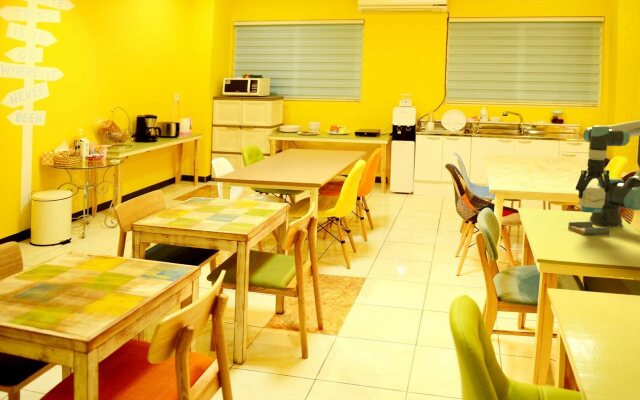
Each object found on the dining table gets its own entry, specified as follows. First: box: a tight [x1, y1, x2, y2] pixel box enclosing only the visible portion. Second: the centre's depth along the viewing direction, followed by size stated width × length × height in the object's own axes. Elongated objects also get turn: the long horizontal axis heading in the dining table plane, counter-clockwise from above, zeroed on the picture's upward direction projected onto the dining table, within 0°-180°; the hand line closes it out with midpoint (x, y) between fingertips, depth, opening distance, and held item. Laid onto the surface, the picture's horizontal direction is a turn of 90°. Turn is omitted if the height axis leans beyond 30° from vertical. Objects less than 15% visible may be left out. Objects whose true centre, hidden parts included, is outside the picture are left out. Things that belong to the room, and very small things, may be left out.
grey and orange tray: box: [567, 220, 611, 237], centre depth 300 cm, size 13×13×4 cm
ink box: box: [579, 185, 605, 214], centre depth 297 cm, size 9×8×12 cm
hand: (591, 205), depth 298 cm, fingers closed on ink box, 10 cm apart
